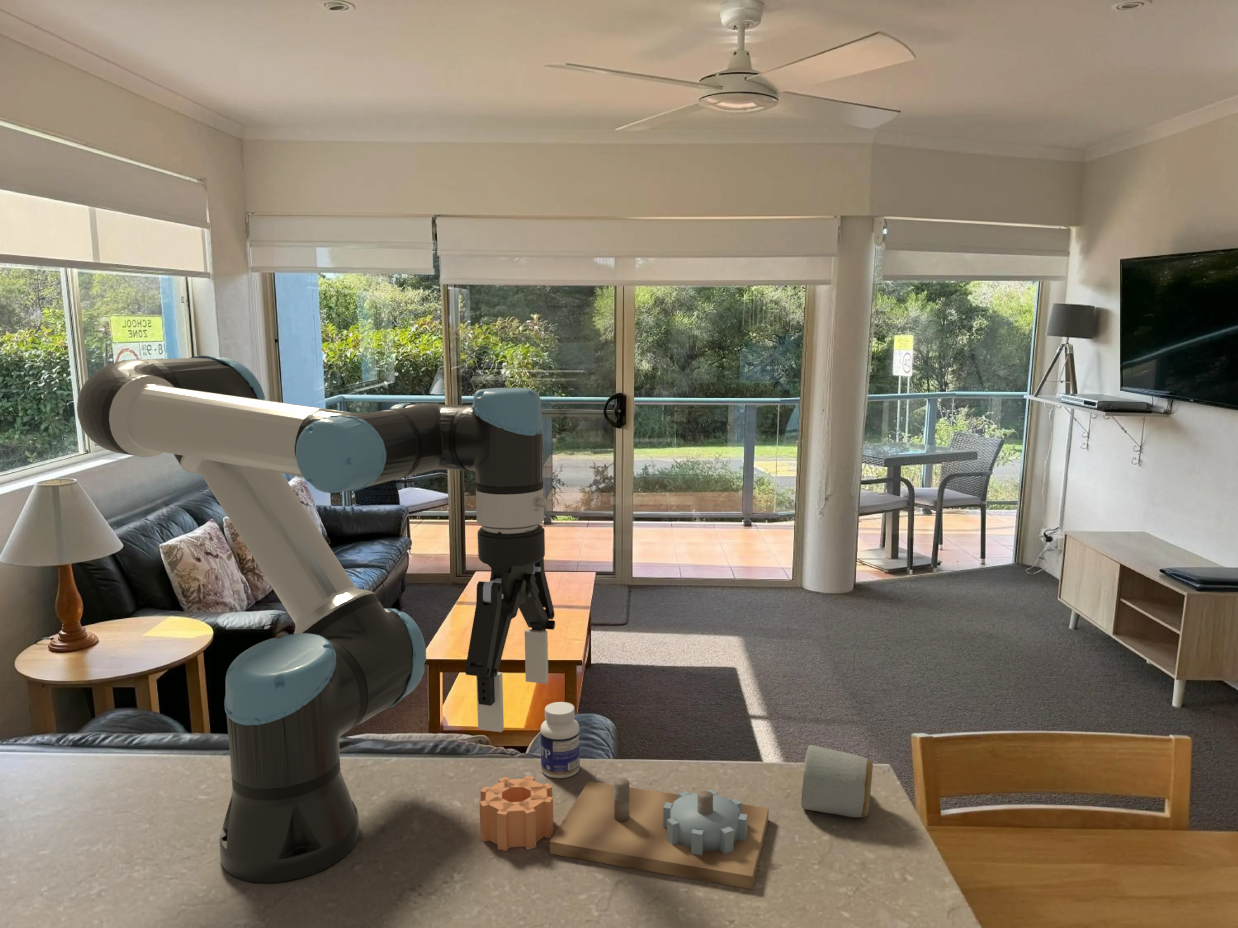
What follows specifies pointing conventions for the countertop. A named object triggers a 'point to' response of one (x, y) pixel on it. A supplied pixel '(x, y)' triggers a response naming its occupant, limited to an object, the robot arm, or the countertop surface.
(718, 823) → the slate gear
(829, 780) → the ceramic mug
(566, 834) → the walnut board
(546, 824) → the terracotta gear
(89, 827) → the countertop surface
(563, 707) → the pill bottle
